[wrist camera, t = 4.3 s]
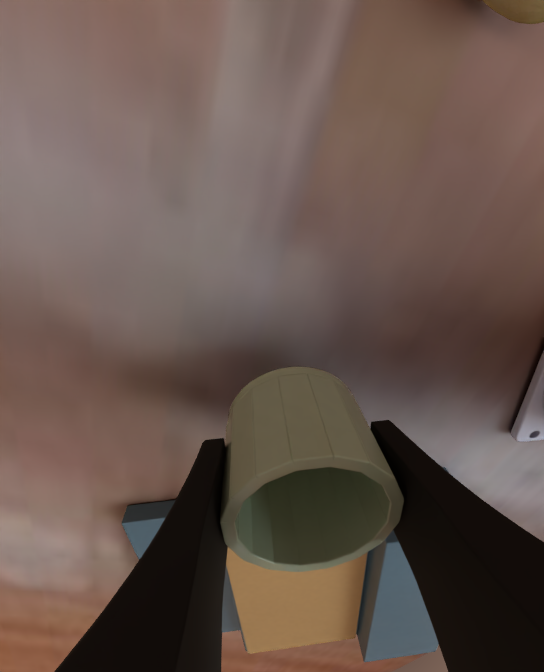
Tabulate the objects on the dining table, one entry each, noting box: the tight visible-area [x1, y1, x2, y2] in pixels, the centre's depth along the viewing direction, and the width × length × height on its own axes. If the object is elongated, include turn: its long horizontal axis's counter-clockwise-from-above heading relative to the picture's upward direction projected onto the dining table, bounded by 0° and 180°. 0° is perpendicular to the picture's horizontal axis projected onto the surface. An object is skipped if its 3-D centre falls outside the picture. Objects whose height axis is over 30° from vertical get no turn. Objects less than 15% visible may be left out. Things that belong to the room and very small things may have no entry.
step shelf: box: [122, 468, 449, 662], centre depth 19 cm, size 18×14×4 cm
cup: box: [220, 366, 404, 572], centre depth 10 cm, size 5×5×4 cm
